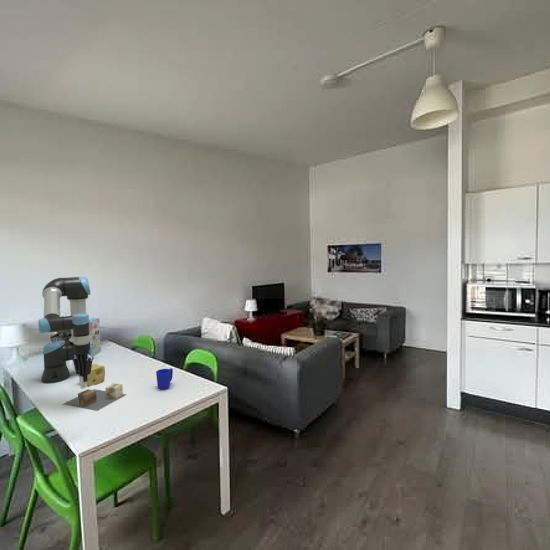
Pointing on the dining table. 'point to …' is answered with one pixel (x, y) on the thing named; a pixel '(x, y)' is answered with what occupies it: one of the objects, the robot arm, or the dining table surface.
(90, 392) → the walnut block
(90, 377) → the cheese
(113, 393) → the maple block
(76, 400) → the rubber mat
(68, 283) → the robot arm
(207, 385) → the dining table surface
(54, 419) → the dining table surface
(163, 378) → the mug
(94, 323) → the game box
